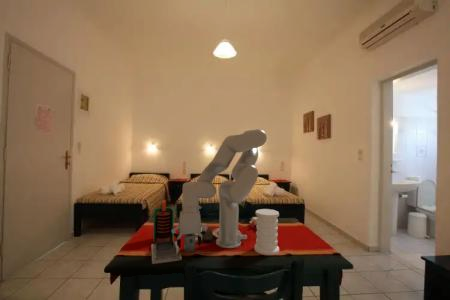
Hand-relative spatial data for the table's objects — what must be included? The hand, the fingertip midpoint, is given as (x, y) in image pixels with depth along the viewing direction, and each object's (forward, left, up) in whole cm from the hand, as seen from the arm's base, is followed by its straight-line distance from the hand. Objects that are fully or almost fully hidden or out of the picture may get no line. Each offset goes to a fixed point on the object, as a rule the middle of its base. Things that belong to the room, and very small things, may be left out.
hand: (189, 245), depth 109 cm
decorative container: (-35, +10, -2) cm, 37 cm away
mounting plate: (+11, 0, -2) cm, 11 cm away
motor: (+11, -16, -2) cm, 19 cm away
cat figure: (-45, -16, -2) cm, 48 cm away
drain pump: (0, 0, -2) cm, 2 cm away
